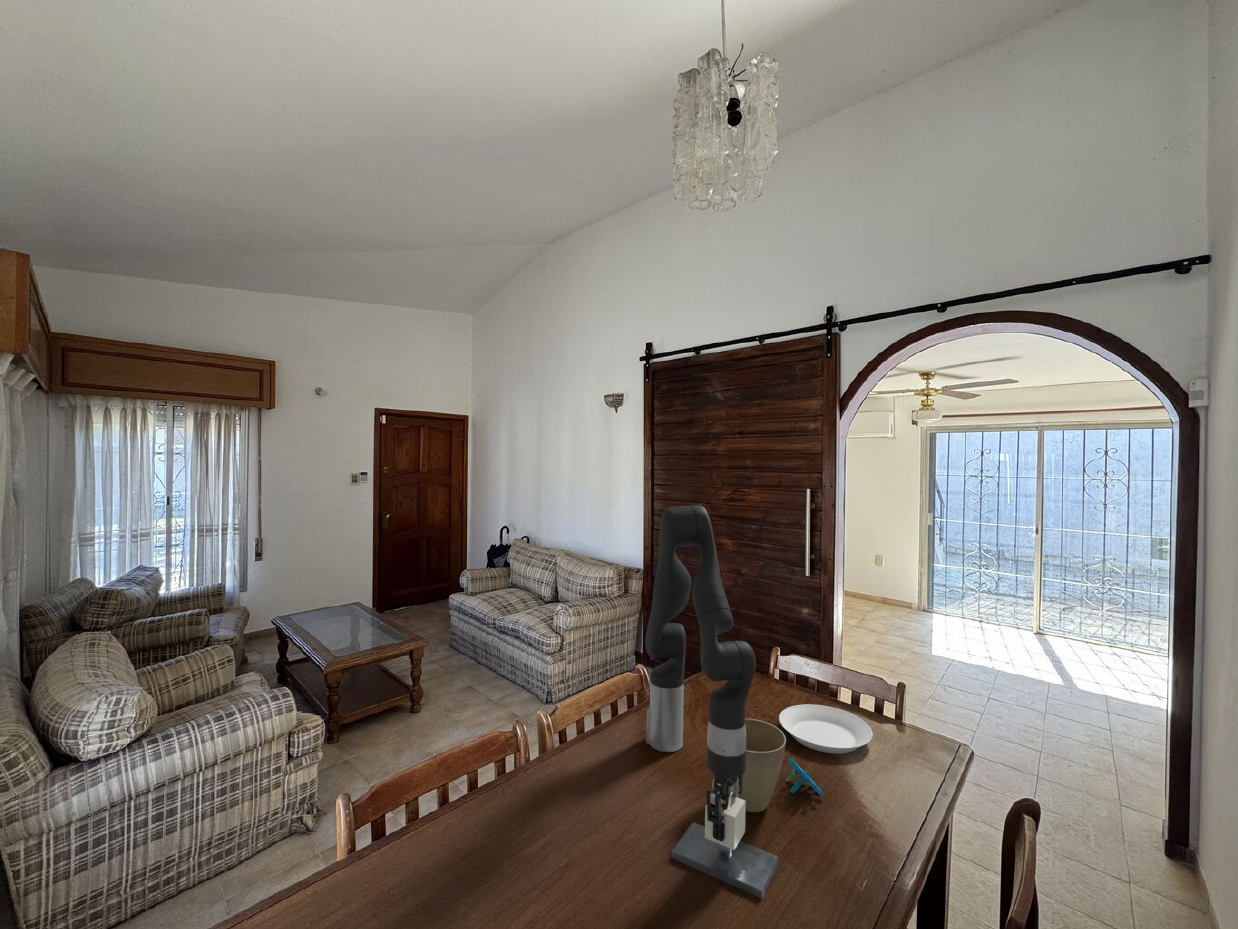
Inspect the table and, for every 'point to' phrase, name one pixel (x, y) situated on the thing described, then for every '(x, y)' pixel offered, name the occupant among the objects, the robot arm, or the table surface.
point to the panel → (727, 861)
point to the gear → (801, 778)
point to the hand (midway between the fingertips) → (725, 829)
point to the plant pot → (761, 763)
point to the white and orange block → (730, 824)
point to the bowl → (825, 728)
